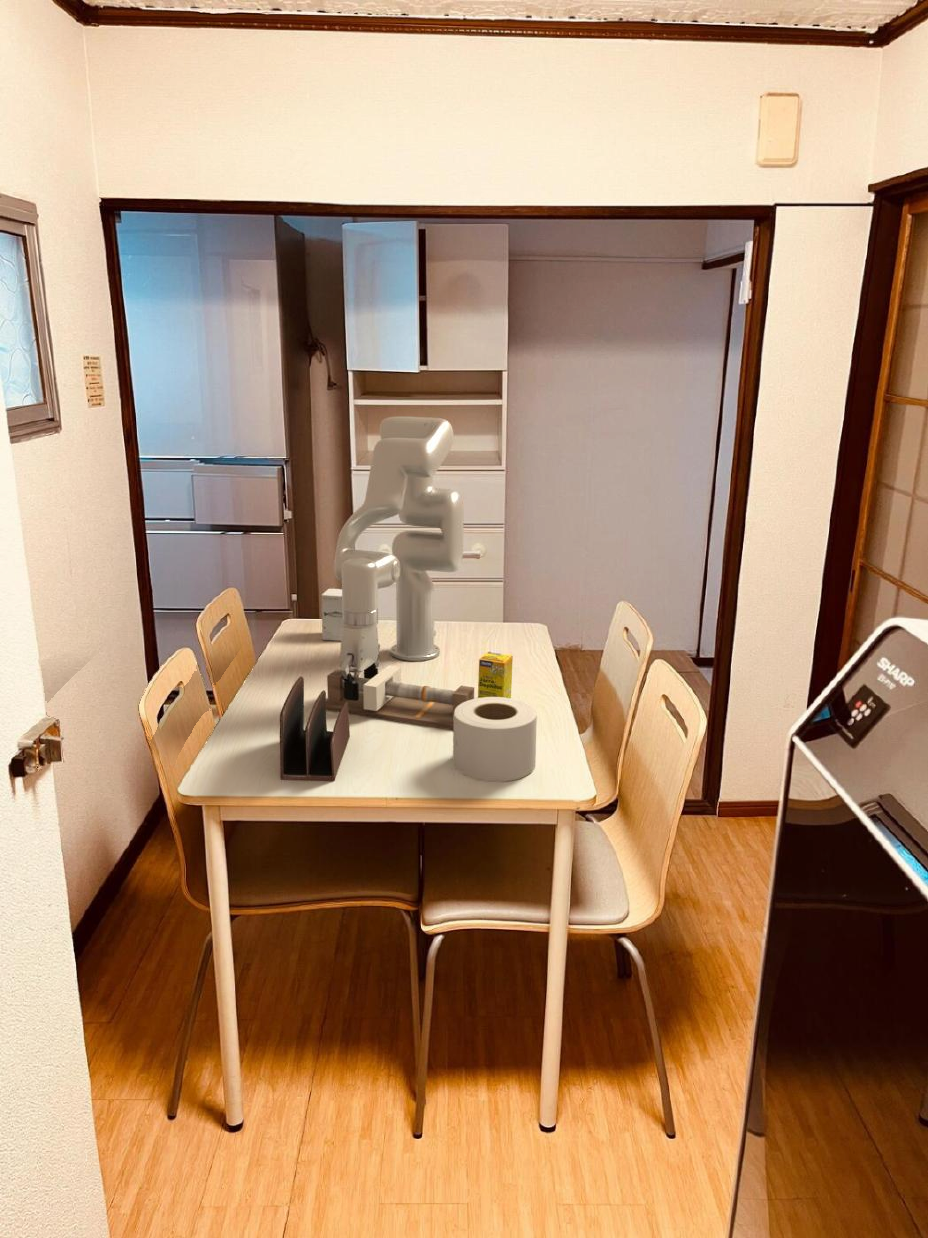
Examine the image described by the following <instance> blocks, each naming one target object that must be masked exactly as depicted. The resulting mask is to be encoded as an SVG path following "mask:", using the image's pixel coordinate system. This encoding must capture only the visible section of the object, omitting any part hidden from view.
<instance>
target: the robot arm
mask: <svg viewBox="0 0 928 1238" xmlns="http://www.w3.org/2000/svg"><path fill="white" fill-rule="evenodd" d="M379 436H380V440H379V441H377V442H376V443H375V445H374V448H373V452H372V457H371V463H370V469H369V475H368V481H367V487H366V493H365V498H364V499H365V500H364V502H363V504H362V505H361V506H359V508H358V509H356V510H355V511H354V512H353V514H351V515H350V517H349V518H348V519H347V520H346V522H345V524H344V525H343V526H342V528H341V530H340V532H339V534H338V538H337V541H336V542H337V543H336V549H335V554H334V561H333V570H334V571H333V572H334V575H335V577H336V579H337V580H339V582H341V589H342V614H343V625H344V626H343V630H342V637H341V641H340V657H339V658H340V661H339V662H340V665H339V666H340V668H339V669H340V671H341V674H342V679H343V682H344V698H345V699H347V700H353V701H358V700H359V683H357V679H358V677H360V676H359V675H360V673H362V672H363V678H367V679H372V678H373V677H374V676H376V675H377V674H378V673H379V669H378V668H379V665H380V663H379V658H380V648H381V644H379V633H378V624H379V603H378V602H379V595H378V594H379V591H378V590H379V589H384V588H387V587H390V586H392V585H393V584H395V592H396V593H395V595H396V596H395V600H396V601H395V605H396V606H395V607H396V608H395V610H396V613H395V614H396V616H395V617H396V619H395V620H396V624H395V625H396V628H395V629H396V631H395V632H396V633H395V634H396V638H395V639H396V644H394V645H393V646H392V645H391V648H390V651H389V652H390V655H391V656H392V657H394V658H396V659H399V660H403V661H410V662H411V661H412V662H416V661H417V662H420V661H421V662H423V661H429V660H432V659H435V658H436V657H438V656H439V655H440V654H441V649H440V647H439V646H438V645H436V644H435V640H434V639H435V636H436V635H437V632H436V630H435V585H434V582H433V580H432V578H431V576H430V575H429V574H428V572H437V573H438V572H439V573H453V572H456V571H458V570H459V569H460V568H461V565H462V563H463V557H464V504H463V503H464V502H463V500H462V496H461V495H460V493H459V492H458V491H457V490H454V489H451V488H443V487H442V488H440V487H439V488H438V487H435V486H434V477H433V476H434V475H435V474H436V473H437V472H438V470H439V469H440V467H441V465H442V464H443V462H444V460H445V459H446V458H447V456H448V455H449V453H450V451H451V449H452V446H453V443H454V429H453V426H452V424H451V423H450V422H449V420H447V419H445V418H440V417H425V416H424V417H423V416H422V417H420V416H401V415H400V416H389V417H386V418H384V419H383V420H382V421H381V422H380V425H379ZM397 515H398V517H399V520H400V522H401V523H402V524H404V525H407V526H411V527H420V528H422V527H423V528H433V529H435V528H436V529H440V531H441V532H437V531H436V532H432V531H423V530H422V531H420V530H405V531H401V532H400V533H398V534H396V535H395V537H394V538H393V540H392V543H391V544H392V545H391V553H390V552H384V551H373V550H362V549H361V550H360V549H355V545H356V543H357V540H358V539H359V537H360V535H361V534H362V533H363V532H364V531H365V530H366V529H368V528H370V527H371V526H374V525H375V524H377V523H380V522H382V521H384V520H387V519H390V518H393V517H395V516H397ZM349 673H350V674H349ZM351 673H353V675H352V674H351Z"/></svg>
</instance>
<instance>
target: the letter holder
mask: <svg viewBox="0 0 928 1238" xmlns="http://www.w3.org/2000/svg"><path fill="white" fill-rule="evenodd" d="M326 700H327V692H326V690H322V691H321V692H320V694H319V695H318V697H317V698H316V700H315V702H314V704H313V706H312V709H311V711H310V713H309V717H308V720H307V723H306V725H305V710H304V709H305V679H304V676H299V677H298V678H297V679H296V681H295V682H294V683H293V685H292V687H291V689H290V691H289V693H288V694H287V697H286V699H285V701H284V703H283V706H282V708H281V709H280V714H279V769H280V771H279V779H280V780H281V781H283V780H284V781H311V782H312V781H315V782H316V781H317V782H320V781H321V782H335V780H336V777H337V775H338V772H339V769H340V766H341V763H342V760H343V757H344V755H345V751H346V749H347V745H348V743H349V740H350V737H351V735H350V733H351V732H350V717H349V715H350V714H349V713H348V703H347V702H345V703H344V705H343V706H342V708H341V710H340V712H338V715H337V717H336V720H335V722H334V723H335V724H334V727H333V730H332V731H330V730H328V725H327V723H328V722H327V710H326Z"/></svg>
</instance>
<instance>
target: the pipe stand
mask: <svg viewBox="0 0 928 1238" xmlns="http://www.w3.org/2000/svg"><path fill="white" fill-rule="evenodd" d="M349 674H351V672H350V673H349ZM326 678H327V679H326V680H327V683H326V684H327V685H326V686H327V699H326V711H328V712H337V713H340V710H341V708H342V706H343V705H344V703H345V702H347V703H348V713H349V715H356V716H362V717H369V718H376V719H382V720H387V721H395V722H401V723H406V724H407V723H408V724H414V725H418V726H419V725H421V726H425V727H426V726H427V727H433V728H439V729H445V730H452V731H454V720H453V716H454V711H455V709H456V707H457V706H458V705H460V704H461V703H463V702H466V701H468V700H472V699H475V687H473V686H466V685H460V686H459V687H458V688H456V690H452V689H451V690H450V689H446V688H445V689H443V688H438V687H437V688H436V687H431V686H429V685H424V686H422V685H415V684H409V683H402V682H401V683H396V682H389V681H387V682H385V695H388V696H394V697H392V698H391V699H390V700H389V701H388V702H387V703H385V704H384V705H383V706H382V707H381V708H380V709H379V710H377V711H373V710H367V709H364V695H363V685H364V684H365V683H367V682H368V681H369V680H370V679H367V678H364V677H360V676H358V679H357V683H359V700H358V701H353V700H347V699H345V698H344V682H343V679H342V674H341V671H340V668H336V669H334V670H333V671H332V672H330V673H329V674H327V675H326Z"/></svg>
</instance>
